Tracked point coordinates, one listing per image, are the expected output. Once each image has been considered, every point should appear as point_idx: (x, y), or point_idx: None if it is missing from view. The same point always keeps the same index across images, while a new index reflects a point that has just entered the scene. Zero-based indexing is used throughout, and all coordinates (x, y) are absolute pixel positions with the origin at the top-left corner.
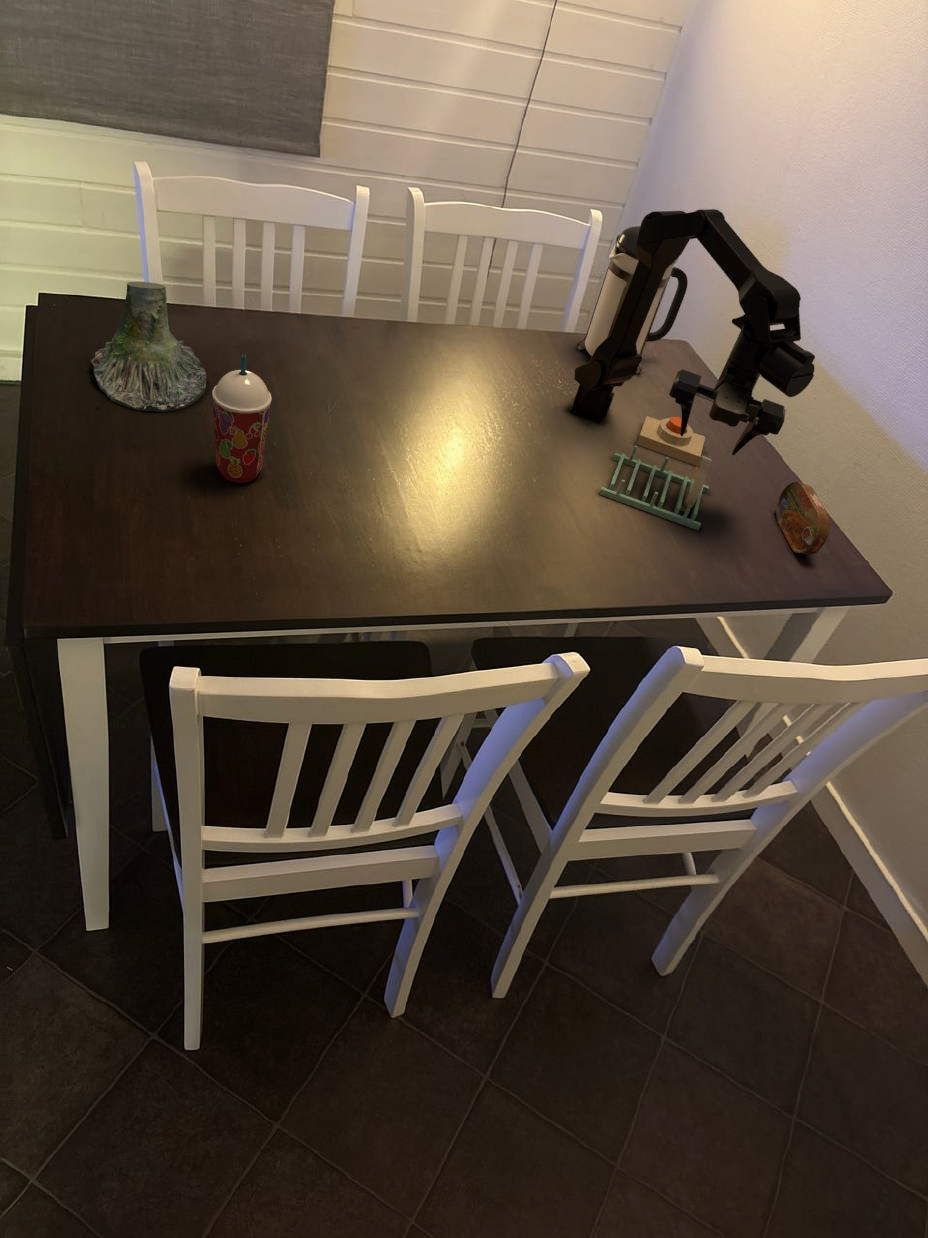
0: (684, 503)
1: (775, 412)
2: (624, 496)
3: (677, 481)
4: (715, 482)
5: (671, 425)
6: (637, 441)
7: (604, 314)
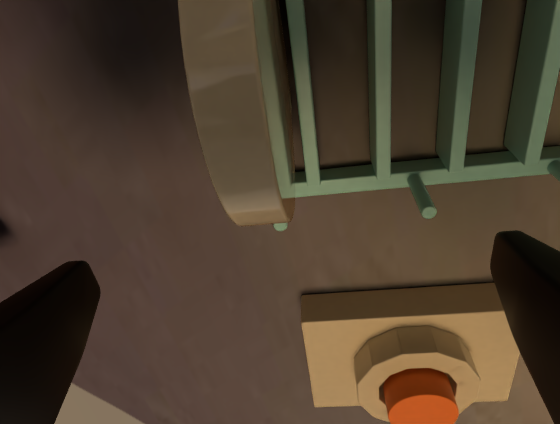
0: None
1: None
2: None
3: (337, 170)
4: (221, 258)
5: (444, 388)
6: None
7: None
